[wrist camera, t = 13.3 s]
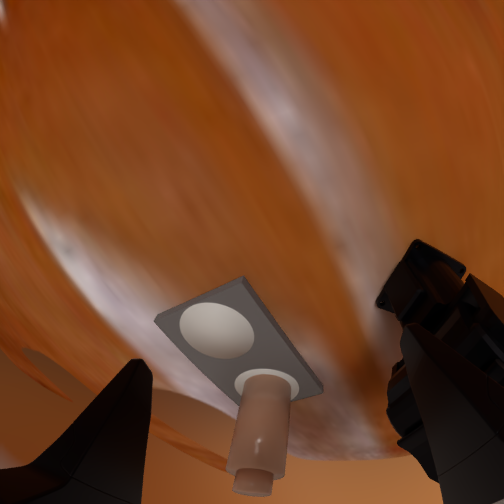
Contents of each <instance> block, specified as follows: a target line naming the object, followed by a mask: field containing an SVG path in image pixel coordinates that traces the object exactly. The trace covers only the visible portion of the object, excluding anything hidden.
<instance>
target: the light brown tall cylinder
mask: <svg viewBox="0 0 504 504" xmlns="http://www.w3.org/2000/svg"><path fill="white" fill-rule="evenodd" d="M290 403H291V385H290V384H289V382H288V381H286V380H285V379H283V378H281V377H279V376H275V375H270V374H260V375H255V376H252V377H250V378H248V379H247V380H246V381H245V382H244V386H243V391H242V396H241V401H240V405H239V410H238V415H237V420H236V424H235V429H234V434H233V439H232V443H231V447H230V452H229V457H228V461H227V466H226V471H227V472H228V473H230V474H232V475H234V476H235V479H234V484H233V489H232V491H234V492H236V493H238V494H242V495H248V496H258V497H264V496H270V495H271V493H272V485H273V480H277V479H281V478H283V477H284V475H285V464H286V455H287V443H288V431H289V418H290Z"/></svg>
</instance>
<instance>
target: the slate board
mask: <svg viewBox="0 0 504 504" xmlns="http://www.w3.org/2000/svg"><path fill="white" fill-rule="evenodd" d="M154 322H155V323H156V325H157V326H158V327H159V328H160V329H161V330H162V331H163V332H164V333H165V335H166V336H167V337H168V338H169V339H170V340H171V341H172V342H173V343H174V344H175V345H176V346H177V347H178V348H179V350H180V351H181V352H182V353H183V354H184V355H185V356H186V357H187V358H188V359H189V360H190V361H191V362H192V363H193V364H194V365H195V366H196V367H197V368H198V369H199V370H200V371H201V372H202V373H203V374H204V375H205V376H207V377H208V378H209V379H210V380H211V381H212V382H213V383H214V384H215V385H216V386H217V387H218V388H219V389H220V390H221V391H223V392H224V393H225V394H226V395H227V396H228V397H229V398H230V399H231V400H233V401H234V402H235V403H236V404H237V405H238V406H239V405H240V401H241V396H242V391H243V386H244V382H245V381H246V380H247V379H248V378H250V377H252V376H255V375H260V374H270V375H275V376H279V377H281V378H283V379H285V380H286V381H288V382H289V384H290V385H291V402H292V401H296V400H300V399H304V398H307V397H311V396H315V395H318V394H322V393H323V385H322V384H321V382H320V381H319V380H318V378H317V377H316V376H315V374H314V373H313V371H312V370H311V369H310V367H309V366H308V365H307V363H306V362H305V361H304V359H303V358H302V356H301V355H300V354H299V352H298V351H297V350H296V348H295V347H294V346H293V344H292V343H291V341H290V340H289V339H288V337H287V336H286V334H285V333H284V332H283V330H282V329H281V328H280V326H279V325H278V323H277V322H276V321H275V319H274V318H273V316H272V315H271V314H270V312H269V311H268V309H267V308H266V307H265V305H264V304H263V302H262V301H261V300H260V298H259V297H258V295H257V294H256V293H255V291H254V290H253V288H252V287H251V285H250V284H249V283H248V281H247V280H246V278H245V277H244V276H242V277H240V278H237V279H235V280H233V281H231V282H229V283H227V284H224V285H222V286H220V287H218V288H216V289H213V290H211V291H209V292H207V293H205V294H202V295H200V296H198V297H196V298H194V299H191V300H189V301H187V302H185V303H183V304H180V305H178V306H176V307H174V308H171V309H169V310H167V311H165V312H162V313H160V314H158V315H157V316H156V318H155V320H154Z"/></svg>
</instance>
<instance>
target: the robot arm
mask: <svg viewBox="0 0 504 504" xmlns="http://www.w3.org/2000/svg"><path fill="white" fill-rule="evenodd" d="M418 244H419V247H418V248H416V246H417V245H418ZM461 269H462V270H461ZM460 270H461V271H460ZM465 272H466V267H465V266H464V265H463V264H462V263H460V262H459V261H457V260H455V259H454V258H452V257H450V256H448V255H447V254H445V253H443V252H441V251H440V250H438V249H436V248H434V247H432V246H431V245H429V244H427V243H425V242H423V241H421V240H419V239H416V240H414V241H413V242H412V244H411V245H410V247H409V249H408V250H407V252H406V254H405V256H404V257H403V259H402V261H400V262H399V264H398V265H397V267H396V268H395V270H394V272H393V273H392V275H391V276H390V278H389V280H388V281H387V283H386V284H385V286H384V289H383V290H382V292H381V293H380V295H379V296H378V298H377V300H376V304H377V306H378V307H379V308H381V309H384V310H386V311H389V312H392V313H395V315H396V317H397V320H398V321H400V323H401V326H402V328H403V333H402V337H401V340H400V347H401V351H402V354H403V359H402V360H401V361H400V362H397V363H396V364H395V365H394V366H393V368H392V377H391V379H390V381H389V383H388V390H387V396H388V408H387V410H386V413H387V416H388V418H389V420H390V423H391V424H392V426H393V428H394V429H395V431H396V432H397V433H398V434H399V435H400V436H401V437H402V438H401V439H400V440H398V441H397V444H398V446H400V447H401V448H403V449H405V450H407V451H408V452H409V453H411V454H412V455H413V456H414V457H415V458H416V459H417V460H418V462H419V463H420V464H421V466H422V467H423V469H424V471H425V472H426V474H427V475H428V477H429V478H430V479H432V480H434V481H436V482H438V483H439V484H440V488H441V493H442V498H443V504H504V298H503V296H502V295H500V294H499V293H498V292H496V291H495V290H494V289H492V288H491V287H489V286H488V285H486V284H485V283H484V282H482V281H481V280H479V279H478V278H476V277H475V276H473V275H472V274H469V275H468V277H467V278H466V280H465V281H466V282H465V284H464V283H463V281H462V280H461V278H462V277H463V275H464V274H465ZM381 301H384V302H383V303H380V302H381ZM152 384H153V375H152V372H151V370H150V369H149V367H148V366H147V364H146V363H145V361H144V360H143V359H131V360H130V361H129V362H128V363H127V364H126V365H125V366H124V367H123V368H122V370H121V371H120V372H119V373H118V374H117V375H116V376H115V377H114V378H113V379H112V380H111V381H110V383H109V384H108V385H107V386H106V387H105V388H104V389H103V390H102V391H101V392H100V393H99V394H98V396H97V397H96V398H95V399H94V400H93V401H92V402H91V403H90V404H89V406H88V407H87V408H86V409H85V410H84V411H83V412H82V413H81V414H80V415H79V416H78V418H77V419H76V420H75V421H74V422H73V424H71V425H70V426H69V428H68V429H67V430H66V431H65V432H64V433H63V434H62V435H61V436H60V437H59V438H58V439H57V440H56V441H55V442H54V443H53V444H52V445H51V446H50V447H49V448H47V449H46V450H45V451H44V452H43V453H42V454H41V455H40V456H39V457H37V458H36V459H35V460H34V461H33V462H31V463H30V464H28V465H25V466H21V467H15V468H8V469H0V504H141V497H142V486H143V475H144V465H145V456H146V448H147V439H148V433H149V425H150V418H151V406H152V405H151V404H152Z"/></svg>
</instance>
